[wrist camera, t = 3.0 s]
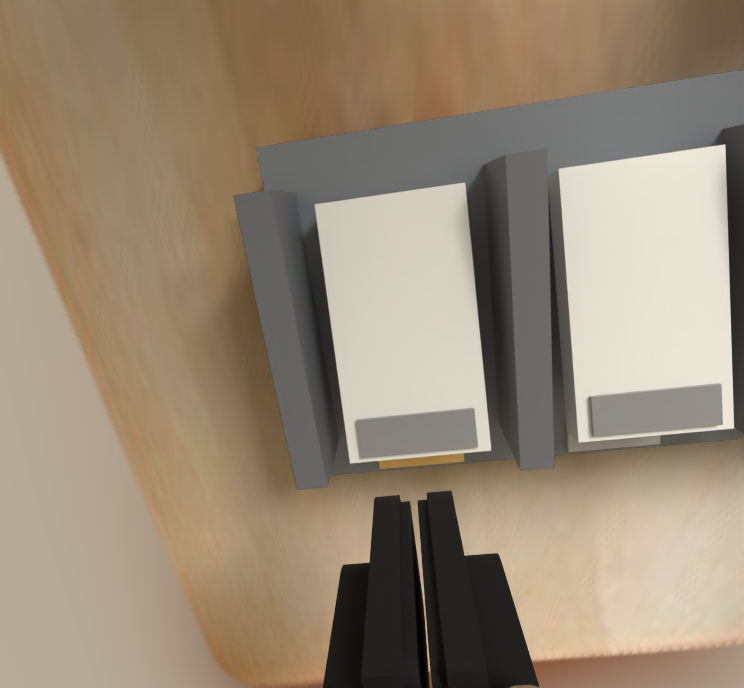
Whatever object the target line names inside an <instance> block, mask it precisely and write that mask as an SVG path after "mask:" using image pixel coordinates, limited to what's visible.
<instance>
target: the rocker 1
mask: <svg viewBox="0 0 744 688" xmlns="http://www.w3.org/2000/svg"><path fill="white" fill-rule="evenodd" d="M315 211H316V219H317V226H318V233H319V241H320V248H321V255H322V263H323V270H324V277H325V284H326V292H327V299H328V306H329V314H330V321H331V328H332V336H333V343H334V350H335V358H336V365H337V372H338V380H339V387H340V394H341V401H342V409H343V416H344V423H345V431H346V438H347V445H348V453H349V460H350V463H360V462H371V461H382V460H393V459H404V458H415V457H426V456H437V455H448V454H459V453H470V452H481V451H491V443H490V432H489V422H488V412H487V401H486V391H485V381H484V371H483V360H482V350H481V340H480V330H479V319H478V309H477V299H476V289H475V278H474V268H473V258H472V248H471V237H470V227H469V217H468V206H467V196H466V186H465V183H458V184H451V185H444V186H437V187H430V188H424V189H417V190H410V191H403V192H396V193H389V194H383V195H376V196H369V197H362V198H355V199H348V200H341V201H335V202H328V203H321V204H315Z"/></svg>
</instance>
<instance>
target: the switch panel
mask: <svg viewBox="0 0 744 688" xmlns="http://www.w3.org/2000/svg"><path fill="white" fill-rule="evenodd" d="M718 145H725V148H726V181H727V213H728V246H729V279H730V312H731V344H732V377H733V410H734V429H723V430H712V431H701V432H690V433H679V434H668V435H657V436H646V437H635V438H624V439H613V440H602V441H591V442H580V443H579V442H578V441H576V440H575V439H574V438H573V437H572V436H571V435H570V434H569V433H568V432H567V425H566V412H565V398H564V385H563V372H562V359H561V346H560V333H559V320H558V307H557V294H556V280H555V267H554V254H553V241H552V228H551V215H550V202H549V189H548V177H549V176H550V175H551V174H553V173H554V172H555V171H556V170H558V169H561V168H567V167H574V166H581V165H588V164H595V163H602V162H608V161H615V160H622V159H629V158H636V157H643V156H650V155H656V154H663V153H670V152H677V151H684V150H691V149H698V148H704V147H711V146H718ZM256 151H257V157H258V162H259V167H260V172H261V177H262V182H263V187H264V191H260V192H253V193H246V194H240V195H233V197H234V201H235V206H236V211H237V215H238V220H239V225H240V229H241V234H242V238H243V243H244V248H245V252H246V257H247V262H248V266H249V271H250V276H251V280H252V285H253V289H254V294H255V299H256V303H257V308H258V313H259V317H260V322H261V326H262V331H263V336H264V340H265V345H266V350H267V354H268V359H269V364H270V368H271V373H272V377H273V382H274V387H275V391H276V396H277V401H278V405H279V410H280V414H281V419H282V424H283V428H284V433H285V438H286V442H287V447H288V452H289V456H290V461H291V465H292V470H293V475H294V479H295V484H296V489H297V490H301V489H313V488H324V487H328V483H329V479H330V475H338V474H349V473H361V472H372V471H383V470H394V469H406V468H417V467H428V466H439V465H451V464H462V463H473V462H484V461H496V460H507V459H515V460H516V462H517V464H518V466H519V468H520V470H532V469H544V468H554V455H563V454H574V453H585V452H597V451H608V450H619V449H630V448H642V447H653V446H664V445H675V444H687V443H698V442H709V441H720V440H731V439H743V438H744V70H738V71H732V72H725V73H719V74H713V75H707V76H700V77H694V78H688V79H682V80H675V81H669V82H663V83H656V84H650V85H644V86H638V87H631V88H625V89H619V90H613V91H606V92H600V93H594V94H588V95H581V96H575V97H569V98H563V99H556V100H550V101H544V102H538V103H531V104H525V105H519V106H513V107H506V108H500V109H494V110H488V111H481V112H475V113H469V114H463V115H456V116H450V117H444V118H438V119H431V120H425V121H419V122H413V123H406V124H400V125H394V126H388V127H381V128H375V129H369V130H363V131H356V132H350V133H344V134H338V135H331V136H325V137H319V138H313V139H306V140H300V141H294V142H288V143H281V144H275V145H269V146H263V147H256ZM458 183H465V186H466V196H467V206H468V217H469V227H470V237H471V248H472V258H473V268H474V278H475V289H476V299H477V309H478V319H479V330H480V340H481V350H482V360H483V371H484V381H485V391H486V401H487V412H488V422H489V432H490V443H491V451H481V452H470V453H459V454H448V455H437V456H426V457H415V458H404V459H393V460H382V461H371V462H360V463H350V460H349V453H348V445H347V438H346V431H345V423H344V416H343V409H342V401H341V394H340V387H339V380H338V372H337V365H336V358H335V350H334V343H333V336H332V328H331V321H330V314H329V306H328V299H327V292H326V284H325V277H324V270H323V263H322V255H321V248H320V241H319V233H318V226H317V219H316V211H315V204H321V203H328V202H335V201H341V200H348V199H355V198H362V197H369V196H376V195H383V194H389V193H396V192H403V191H410V190H417V189H424V188H430V187H437V186H444V185H451V184H458Z"/></svg>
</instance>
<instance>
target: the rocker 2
mask: <svg viewBox="0 0 744 688" xmlns="http://www.w3.org/2000/svg"><path fill="white" fill-rule="evenodd" d="M548 189H549V202H550V215H551V228H552V241H553V254H554V267H555V280H556V294H557V307H558V320H559V333H560V346H561V359H562V372H563V385H564V398H565V412H566V425H567V432H568V433H569V434H570V435H571V436H572V437H573V438H574V439H575V440H576V441H578V442H579V443H580V442H591V441H602V440H613V439H624V438H635V437H646V436H657V435H668V434H679V433H690V432H701V431H712V430H723V429H734V410H733V377H732V344H731V312H730V279H729V246H728V213H727V181H726V148H725V145H718V146H711V147H704V148H698V149H691V150H684V151H677V152H670V153H663V154H656V155H650V156H643V157H636V158H629V159H622V160H615V161H608V162H602V163H595V164H588V165H581V166H574V167H567V168H561V169H558V170H556V171H555V172H554V173H553V174H551V175H550V176H549V177H548Z"/></svg>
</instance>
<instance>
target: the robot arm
mask: <svg viewBox="0 0 744 688" xmlns="http://www.w3.org/2000/svg"><path fill="white" fill-rule="evenodd" d="M418 514H419V527H420V540H421V553H422V566H423V580H424V593H425V606H426V619H427V633H428V646H429V658H430V669H431V678H432V687H433V688H540V687H539V684H538V681H537V678H536V674H535V671H534V668H533V664H532V661H531V658H530V654H529V651H528V648H527V645H526V641H525V638H524V635H523V631H522V628H521V625H520V622H519V618H518V615H517V612H516V608H515V605H514V602H513V598H512V595H511V592H510V589H509V585H508V582H507V579H506V575H505V572H504V569H503V566H502V562H501V559H500V557H499V555H498V553H495V554H482V555H469V556H464V551H463V546H462V541H461V536H460V531H459V526H458V521H457V516H456V511H455V506H454V501H453V496H452V492H451V491H442V492H430V493H427V500H419V501H418ZM323 688H430V687H429V672H428V658H427V644H426V630H425V616H424V606H423V597H422V590H421V582H420V574H419V567H418V559H417V551H416V544H415V536H414V528H413V521H412V513H411V506H410V501H407V502H401V500H400V496H399V495H396V496H384V497H375V500H374V512H373V525H372V538H371V552H370V563H361V564H348V565H343V567H342V569H341V574H340V580H339V587H338V593H337V600H336V606H335V613H334V619H333V626H332V632H331V638H330V645H329V651H328V658H327V664H326V671H325V677H324V684H323Z"/></svg>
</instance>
